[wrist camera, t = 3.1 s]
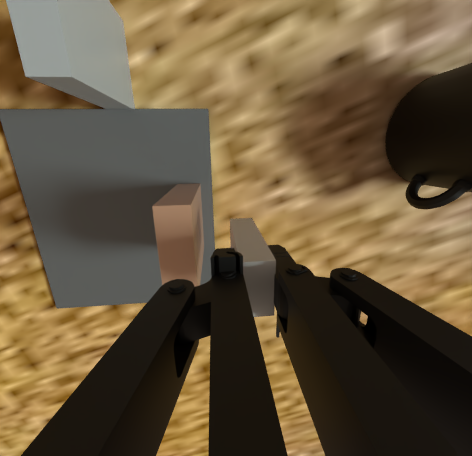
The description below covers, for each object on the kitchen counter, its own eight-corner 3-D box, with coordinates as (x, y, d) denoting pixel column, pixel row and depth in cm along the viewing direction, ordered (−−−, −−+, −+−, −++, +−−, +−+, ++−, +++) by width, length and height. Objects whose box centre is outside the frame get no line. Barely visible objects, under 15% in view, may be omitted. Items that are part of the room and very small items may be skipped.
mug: (344, 169, 22) (426, 180, 14) (438, 49, 20) (608, -29, 11) (407, 221, 25) (510, 258, 16) (498, 119, 22) (678, 99, 14)
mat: (3, 110, 18) (-3, 109, 18) (208, 110, 20) (208, 108, 19) (60, 304, 24) (56, 308, 23) (217, 294, 25) (217, 297, 25)
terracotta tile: (175, 184, 21) (148, 206, 12) (200, 183, 21) (190, 204, 12) (181, 246, 23) (161, 304, 14) (204, 245, 23) (198, 301, 14)
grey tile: (92, 20, 17) (-28, -110, 9) (123, 21, 17) (35, -106, 9) (107, 110, 19) (20, 76, 11) (135, 110, 19) (72, 77, 11)
